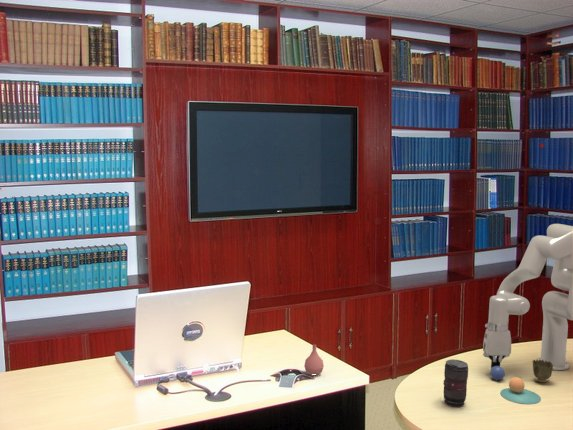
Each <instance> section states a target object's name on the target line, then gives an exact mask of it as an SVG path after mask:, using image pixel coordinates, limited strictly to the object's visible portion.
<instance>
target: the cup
mask: <svg viewBox="0 0 573 430" xmlns="http://www.w3.org/2000/svg"><path fill="white" fill-rule="evenodd" d="M552 369H553V365H552V363H551V362H550V361H549V362H547V360H546V361H545V362H544V361H543V360H542V361H541V360H539V361H538V360H537V359H533V360H532V370H533V371H532V373H533V375H534V376H535V378H536V382H538V383H539V384H546V383H547V382H548V379H550V378H551V376H552V372H553V370H552Z"/></svg>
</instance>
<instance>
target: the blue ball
mask: <svg viewBox="0 0 573 430" xmlns="http://www.w3.org/2000/svg"><path fill="white" fill-rule="evenodd" d="M489 374H490V376H491V378H492V379H493V380H495V381H501V380H503V379H504V378H505V375H506V372H505V370H504V367H502V366H501V365H500V366H494V367H492V368H491V367H490V371H489Z"/></svg>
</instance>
